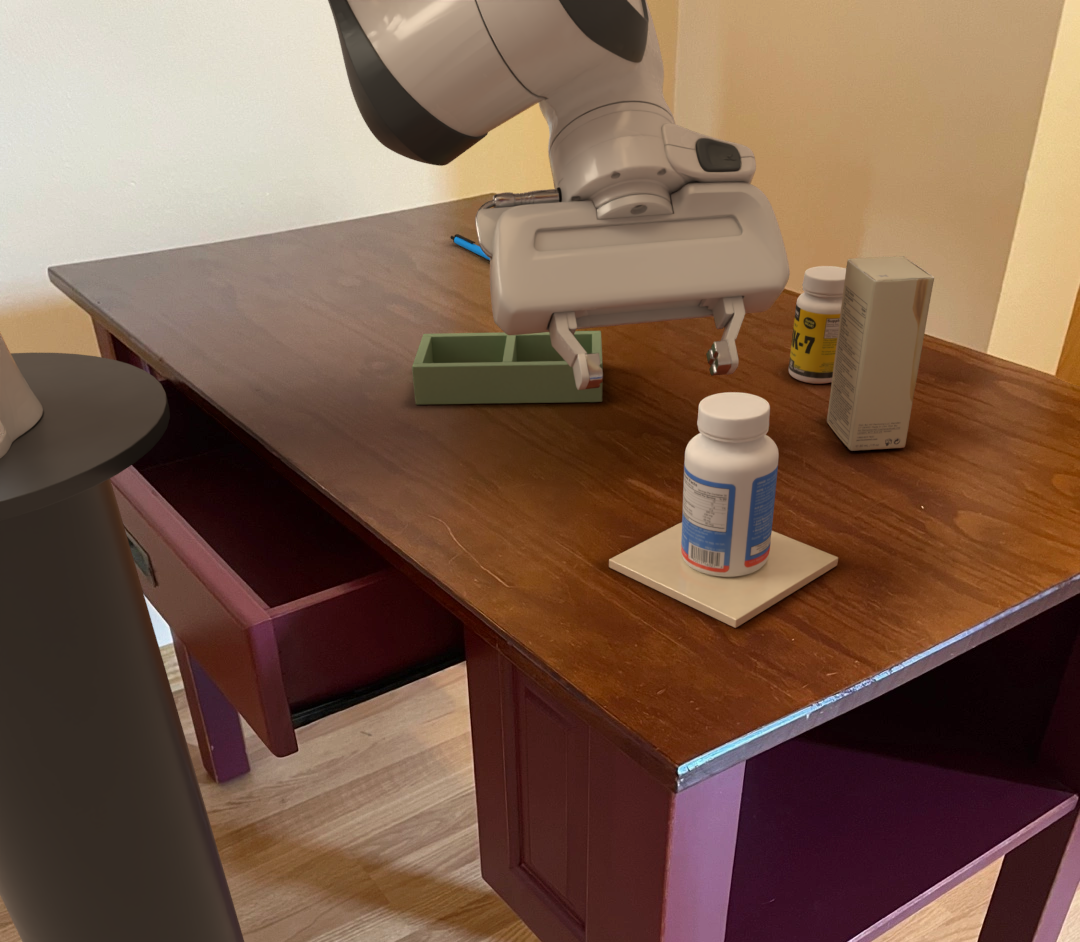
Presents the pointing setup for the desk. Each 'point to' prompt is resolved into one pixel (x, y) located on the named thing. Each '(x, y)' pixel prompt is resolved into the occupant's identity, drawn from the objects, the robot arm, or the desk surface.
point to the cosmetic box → (878, 351)
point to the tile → (723, 595)
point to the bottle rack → (498, 369)
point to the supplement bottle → (817, 325)
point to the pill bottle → (729, 486)
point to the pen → (468, 245)
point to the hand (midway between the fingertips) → (658, 378)
